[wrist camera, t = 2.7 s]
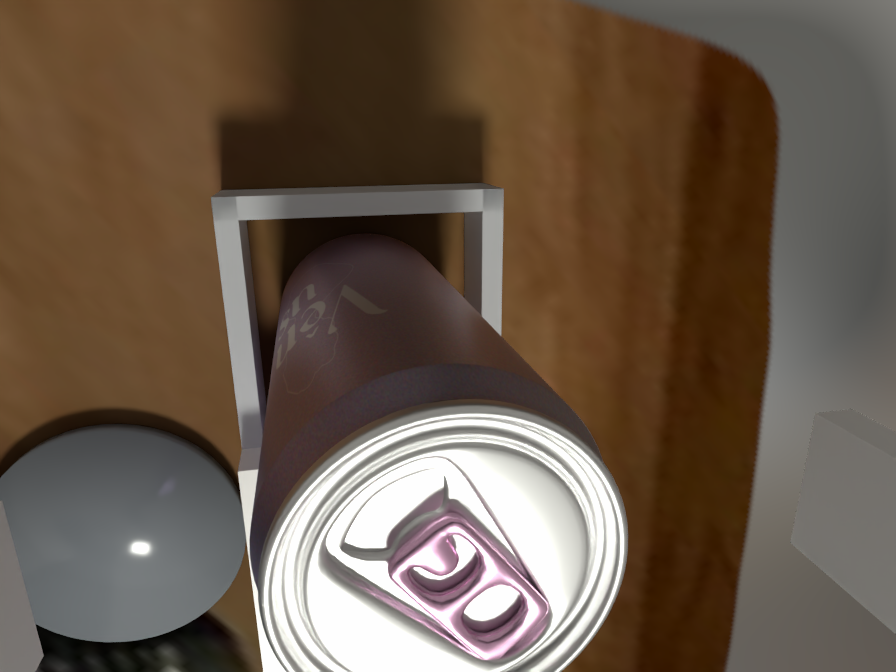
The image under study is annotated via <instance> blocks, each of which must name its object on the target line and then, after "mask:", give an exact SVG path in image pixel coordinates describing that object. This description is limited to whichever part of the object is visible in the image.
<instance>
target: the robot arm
mask: <svg viewBox="0 0 896 672" xmlns="http://www.w3.org/2000/svg"><path fill="white" fill-rule="evenodd" d="M790 543H791V544H792V545H794V546H795V547H796V548H797V549H798V550H799V551H800V552H802V553H803V554H804V555H805V556H806V557H807V558H808V559H810V560H811V561H812V562H813V563H814V564H815V565H817V566H818V567H819V568H820V569H821V570H822V571H824V572H825V573H826V574H827V575H828V576H829V577H830V578H831V579H833V580H834V581H835V582H836V583H837V584H839V585H840V586H841V587H842V588H843V589H844V590H845V591H846V592H848V593H849V594H850V595H851V596H852V597H853V598H855V599H856V600H857V601H858V602H859V603H860V604H861V605H863V606H864V607H865V608H866V609H867V610H869V611H870V612H871V613H872V614H873V615H874V616H875V617H876V618H878V619H879V620H880V621H881V622H882V623H883V624H885V625H886V626H887V627H888V628H889V629H890V630H891V631H893V632H894V633H895V634H896V432H895V431H893V430H891V429H889V428H888V427H886V426H884V425H882V424H880V423H878V422H876V421H874V420H872V419H870V418H868V417H866V416H865V415H863V414H861V413H859V412H857V411H855V410H853V409H848V410H839V411H829V412H819V413H815V418H814V423H813V428H812V433H811V438H810V443H809V448H808V454H807V459H806V464H805V469H804V474H803V479H802V485H801V490H800V495H799V501H798V505H797V510H796V516H795V521H794V526H793V532H792V536H791V541H790ZM43 656H44V655H43V652H42V648H41V644H40V640H39V637H38V633H37V629H36V626H35V622H34V618H33V614H32V611H31V607H30V603H29V599H28V596H27V592H26V588H25V585H24V581H23V577H22V573H21V570H20V566H19V562H18V558H17V555H16V551H15V547H14V544H13V540H12V536H11V532H10V529H9V525H8V521H7V517H6V514H5V510H4V506H3V502H2V501H0V672H35V671H36V669H37V667H38V665H39V663H40V661H41V659H42V658H43Z"/></svg>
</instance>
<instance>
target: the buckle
mask: <svg viewBox="0 0 896 672" xmlns="http://www.w3.org/2000/svg"><path fill="white" fill-rule="evenodd" d="M503 197H504V189H503V188H499V187H496V186H492V185H489V184H485V183H464V184H428V185H391V186H354V187H318V188H281V189H245V190H221V191H219V192H218V193H216V194H215V195H213V196H212V197H211V202H212V210H213V219H214V227H215V235H216V243H217V251H218V259H219V267H220V275H221V283H222V291H223V299H224V307H225V315H226V323H227V331H228V340H229V348H230V356H231V364H232V372H233V380H234V388H235V396H236V404H237V412H238V420H239V428H240V436H241V444H242V452H241V458H240V463H239V468H238V477H239V485H240V493H241V501H242V509H243V517H244V524H245V532H246V540H247V548H248V556H249V563H250V571H251V579H252V587H253V595H254V603H255V610H256V618H257V626H258V634H259V642H260V649H261V657H262V665H263V672H286V671H285V669H284V668H283V667H282V665H281V664H280V662H279V661H278V659H277V658H276V656H275V654H274V653H273V651H272V649H271V647H270V644H269V642H268V640H267V637H266V634H265V631H264V628H263V625H262V620H261V616H260V611H259V603H258V590H257V587H256V584H255V581H254V577H253V572H252V568H251V560H250V543H249V540H250V527H251V520H252V512H253V505H254V497H255V490H256V482H257V475H258V468H259V460H260V453H261V445H262V438H263V431H264V423H265V416H266V408H267V405H266V396H265V387H264V378H263V368H262V359H261V350H260V341H259V331H258V322H257V313H256V304H255V294H254V285H253V276H252V267H251V257H250V248H249V239H248V230H247V220H261V219H288V218H316V217H343V216H370V215H398V214H425V213H452V212H464V298H465V299H466V301H467V302H468V303H469V304H470V305H471V306H472V307H473V308H474V309H475V310H476V311H477V312H478V313H479V314H480V315H481V316H482V317H483V318H484V319H485V320H486V321H487V322H488V323H489V324H490V325H491V326H492V327H493V328H494V329H495V330H496V331H497V332H498V333H499V335H500V336H501V313H502V255H503Z"/></svg>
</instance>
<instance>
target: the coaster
mask: <svg viewBox="0 0 896 672" xmlns="http://www.w3.org/2000/svg"><path fill="white" fill-rule="evenodd" d="M0 501H2V502H3V506H4V510H5V514H6V517H7V521H8V525H9V529H10V532H11V536H12V540H13V544H14V547H15V551H16V555H17V558H18V562H19V566H20V570H21V573H22V577H23V581H24V585H25V588H26V592H27V596H28V599H29V603H30V607H31V611H32V614H33V618H34V622H35V624H37V625H39V626H41V627H43V628H45V629H48V630H50V631H53V632H55V633H58V634H61V635H65V636H68V637H71V638H77V639H82V640H87V641H98V642H125V641H134V640H141V639H145V638H150V637H155V636H158V635H161V634H164V633H167V632H170V631H172V630H175V629H177V628H179V627H181V626H184V625H185V624H187V623H189V622H191V621H192V620H194V619H196V618H197V617H199V616H200V615H202V614H203V613H204V612H206V611H207V610H208V609H210V608H211V607H212V606H213V605H214V604H215V603H216V602H217V601H218V600H219V599H220V598H221V597H222V595H223V594H224V593H225V592H226V591H227V589H228V588H229V587H230V585H231V583H232V582H233V580H234V579H235V577H236V575H237V572H238V570H239V568H240V566H241V562H242V559H243V555H244V551H245V544H246V532H245V524H244V517H243V509H242V501H241V495H240V492H239V490H238V489H237V487H236V485H235V483H234V481H233V480H232V478H231V477H230V476H229V474H228V473H227V472H226V470H225V469H224V468H223V467H222V466H221V465H220V464H219V463H218V462H217V461H216V460H215V459H214V458H213V457H212V456H211V455H209V454H208V453H207V452H205V451H204V450H203V449H201V448H200V447H198V446H196V445H195V444H193V443H191V442H189V441H188V440H186V439H183V438H181V437H179V436H176V435H174V434H172V433H169V432H166V431H162V430H159V429H156V428H151V427H145V426H140V425H130V424H101V425H94V426H87V427H82V428H78V429H74V430H71V431H67V432H64V433H61V434H59V435H56V436H54V437H51V438H49V439H47V440H45V441H44V442H42V443H40V444H38V445H36V446H35V447H33V448H32V449H30V450H29V451H28V452H26V453H25V454H24V455H22V456H21V457H20V458H19V459H18V460H17V461H16V462H15V463H14V464H13V465H12V466H11V467H10V468H9V469H8V470H7V471H6V472H5V473H4V474H3V475H2V477H1V478H0Z"/></svg>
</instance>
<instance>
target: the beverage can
mask: <svg viewBox="0 0 896 672" xmlns="http://www.w3.org/2000/svg"><path fill="white" fill-rule="evenodd" d="M249 543H250V560H251V568H252V572H253V577H254V581H255V584H256V587H257V590H258V603H259V611H260V616H261V620H262V625H263V628H264V631H265V634H266V637H267V640H268V642H269V644H270V647H271V649H272V651H273V653H274V654H275V656H276V658H277V659H278V661H279V662H280V664H281V665H282V667H283V668H284V669H285V671H286V672H561V671H562V670H563V669H565V668H566V667H567V666H568V665H569V664H570V663H571V662H572V661H573V660H574V659H575V658H576V657H577V656H578V655H579V654H580V653H581V652H582V651H583V649H584V648H585V647H586V646H587V645H588V643H589V642H590V641H591V640H592V638H593V637H594V636H595V634H596V633H597V631H598V630H599V629H600V627H601V626H602V624H603V622H604V621H605V619H606V617H607V615H608V614H609V612H610V610H611V608H612V606H613V604H614V601H615V599H616V597H617V594H618V591H619V589H620V586H621V583H622V579H623V575H624V571H625V566H626V560H627V551H628V527H627V519H626V513H625V508H624V505H623V501H622V498H621V495H620V492H619V490H618V487H617V485H616V483H615V481H614V479H613V477H612V475H611V473H610V472H609V470H608V468H607V467H606V465H605V464H604V462H603V460H602V457H601V454H600V452H599V449H598V447H597V445H596V443H595V441H594V439H593V437H592V435H591V434H590V432H589V430H588V429H587V427H586V426H585V424H584V423H583V422H582V420H581V419H580V418H579V417H578V415H577V414H576V413H575V412H574V411H573V410H572V409H571V408H570V407H569V406H568V405H567V404H566V403H565V402H564V400H563V399H562V398H561V397H560V396H559V395H558V394H557V393H556V392H555V391H554V390H553V389H552V388H551V387H550V386H549V385H548V384H547V383H546V382H545V381H544V380H543V379H542V378H541V377H540V376H539V375H538V374H537V373H536V372H535V371H534V370H533V369H532V367H531V366H530V365H529V364H528V363H527V362H526V361H525V360H524V359H523V358H522V357H521V356H520V355H519V354H518V353H517V352H516V351H515V350H514V349H513V348H512V347H511V346H510V345H509V344H508V343H507V342H506V341H505V340H504V339H503V338H502V337H501V336H500V335H499V333H498V332H497V331H496V330H495V329H494V328H493V327H492V326H491V325H490V324H489V323H488V322H487V321H486V320H485V319H484V318H483V317H482V316H481V315H480V314H479V313H478V312H477V311H476V310H475V309H474V308H473V307H472V306H471V305H470V304H469V303H468V302H467V301H466V299H465V298H464V297H463V296H462V295H461V294H460V293H459V292H458V291H457V290H456V289H455V288H454V287H453V286H452V285H451V284H450V283H449V282H448V281H447V280H446V279H445V278H444V277H443V276H442V275H441V274H440V273H439V272H438V271H437V270H436V269H435V268H434V267H433V265H432V264H431V263H430V262H429V261H428V260H427V259H426V258H425V257H424V256H423V255H421V254H420V253H419V252H418V251H417V250H415V249H414V248H412V247H411V246H409V245H408V244H406V243H404V242H402V241H400V240H397V239H395V238H392V237H388V236H384V235H379V234H369V233H362V234H351V235H346V236H342V237H339V238H336V239H333V240H331V241H329V242H326V243H324V244H323V245H321V246H319V247H318V248H316V249H315V250H313V251H312V252H311V253H309V254H308V255H307V256H306V257H305V258H304V259H303V260H302V261H301V262H300V263H299V264H298V266H297V267H296V268H295V270H294V271H293V273H292V274H291V276H290V278H289V280H288V282H287V284H286V286H285V289H284V292H283V295H282V299H281V305H280V312H279V319H278V327H277V334H276V342H275V349H274V356H273V364H272V371H271V379H270V386H269V394H268V401H267V408H266V416H265V423H264V431H263V438H262V445H261V453H260V460H259V468H258V475H257V482H256V490H255V497H254V505H253V512H252V520H251V527H250V540H249Z"/></svg>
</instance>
